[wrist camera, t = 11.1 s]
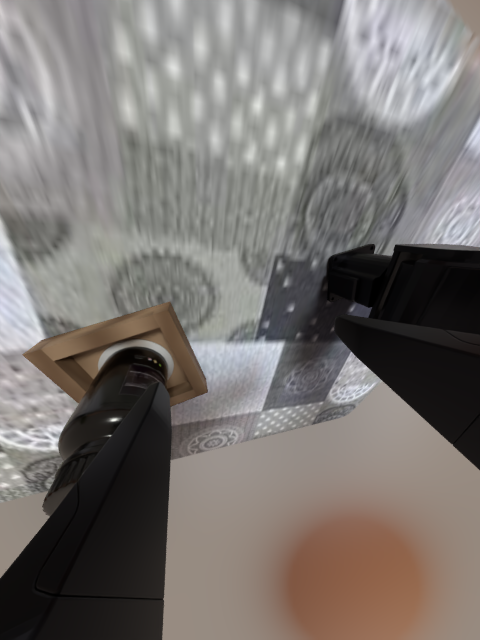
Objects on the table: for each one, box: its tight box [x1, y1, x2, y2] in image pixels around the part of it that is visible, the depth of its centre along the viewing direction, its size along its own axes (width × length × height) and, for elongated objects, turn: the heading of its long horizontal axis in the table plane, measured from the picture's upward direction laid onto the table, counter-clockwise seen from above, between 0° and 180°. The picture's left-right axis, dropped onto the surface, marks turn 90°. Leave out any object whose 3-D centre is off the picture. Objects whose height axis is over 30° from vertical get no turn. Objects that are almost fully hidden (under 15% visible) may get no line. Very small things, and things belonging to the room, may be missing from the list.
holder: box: [23, 302, 208, 407], centre depth 20 cm, size 13×13×2 cm
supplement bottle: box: [42, 346, 168, 516], centre depth 15 cm, size 7×7×12 cm
